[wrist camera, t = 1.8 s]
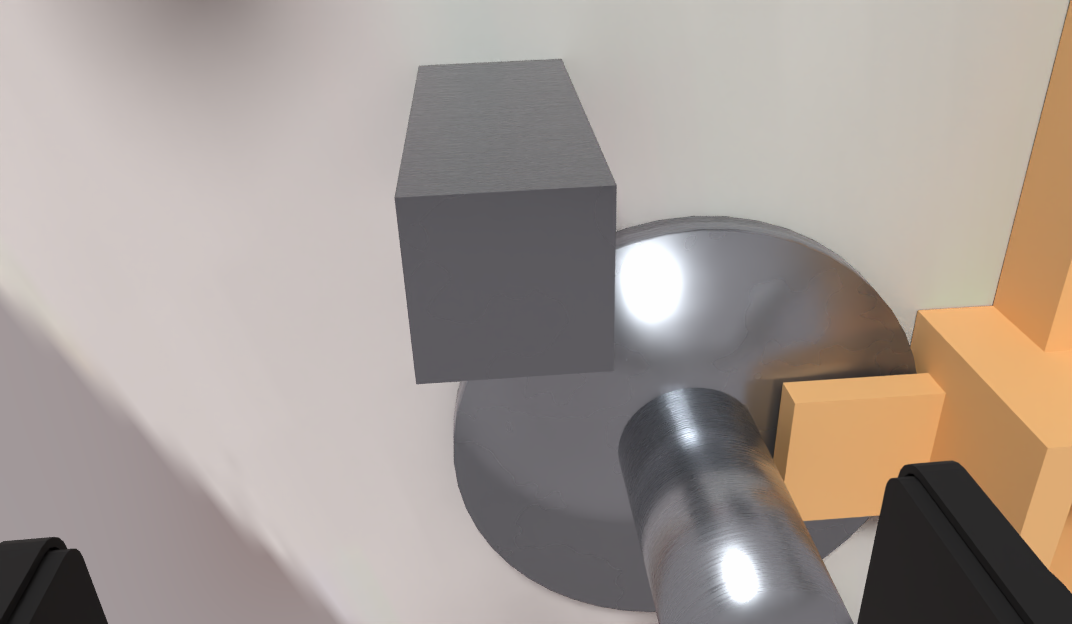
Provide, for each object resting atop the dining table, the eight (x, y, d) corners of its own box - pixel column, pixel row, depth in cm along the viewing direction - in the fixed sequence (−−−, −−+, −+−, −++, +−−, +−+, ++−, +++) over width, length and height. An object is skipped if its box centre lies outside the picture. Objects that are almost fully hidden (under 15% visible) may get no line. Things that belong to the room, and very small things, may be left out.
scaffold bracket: (1288, -91, 24) (1597, -60, 17) (1086, 482, 34) (1235, 639, 27) (820, -71, 23) (959, -32, 17) (752, 507, 33) (823, 674, 27)
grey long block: (561, 59, 25) (616, 185, 16) (563, 192, 26) (613, 371, 18) (419, 65, 24) (394, 197, 16) (431, 200, 26) (416, 384, 18)
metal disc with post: (943, 201, 28) (1166, 375, 19) (865, 572, 35) (998, 816, 27) (434, 231, 27) (420, 425, 18) (469, 603, 35) (471, 864, 26)
